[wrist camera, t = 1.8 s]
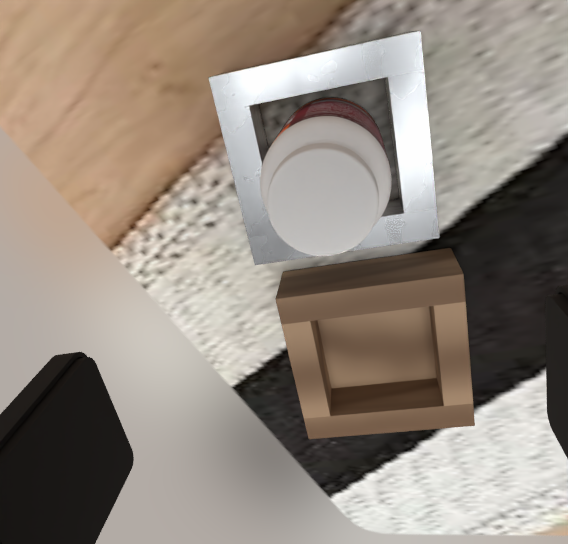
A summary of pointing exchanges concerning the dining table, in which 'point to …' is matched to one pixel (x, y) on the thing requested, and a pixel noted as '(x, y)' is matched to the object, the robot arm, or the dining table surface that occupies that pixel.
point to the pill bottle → (326, 177)
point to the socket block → (321, 76)
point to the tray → (379, 344)
